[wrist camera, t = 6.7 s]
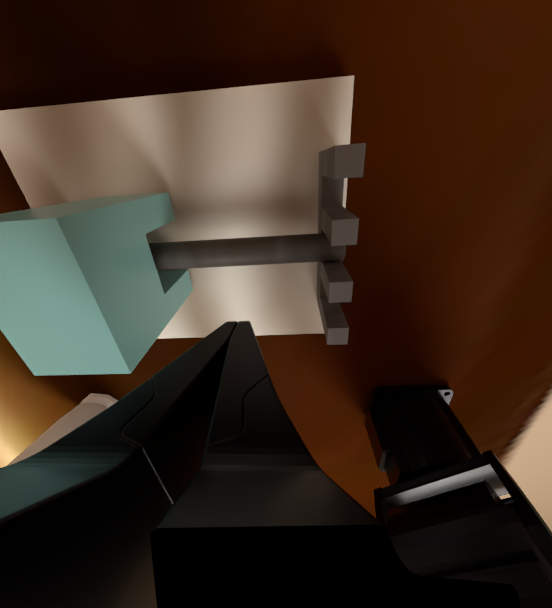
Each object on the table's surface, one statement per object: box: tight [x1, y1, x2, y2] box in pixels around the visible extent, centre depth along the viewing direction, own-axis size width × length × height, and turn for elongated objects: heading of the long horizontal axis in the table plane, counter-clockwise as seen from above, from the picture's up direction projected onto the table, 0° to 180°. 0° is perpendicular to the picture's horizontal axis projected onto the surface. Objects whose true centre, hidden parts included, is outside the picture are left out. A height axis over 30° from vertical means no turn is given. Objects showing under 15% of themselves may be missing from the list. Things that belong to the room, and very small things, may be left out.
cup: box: [7, 393, 118, 466], centre depth 22 cm, size 7×10×8 cm
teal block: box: [0, 192, 193, 376], centre depth 12 cm, size 4×6×7 cm
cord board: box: [0, 75, 366, 345], centre depth 13 cm, size 18×14×6 cm
